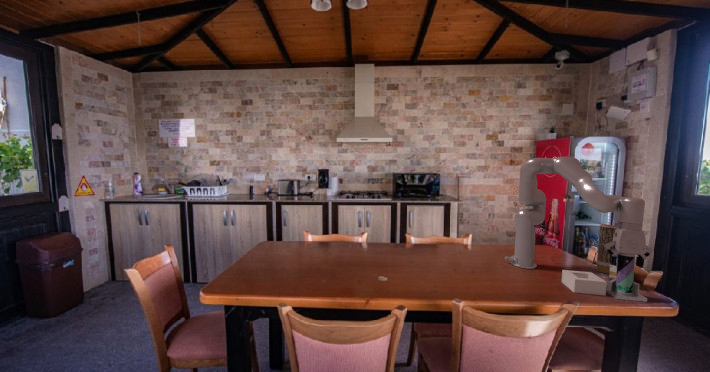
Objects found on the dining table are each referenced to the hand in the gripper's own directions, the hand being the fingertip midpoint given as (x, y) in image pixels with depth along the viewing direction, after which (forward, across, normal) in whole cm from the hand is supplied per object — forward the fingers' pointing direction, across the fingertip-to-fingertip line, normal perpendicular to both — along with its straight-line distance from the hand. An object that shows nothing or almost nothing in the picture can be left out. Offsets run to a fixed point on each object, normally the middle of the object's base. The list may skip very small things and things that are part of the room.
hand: (625, 265), depth 128 cm
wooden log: (+14, +9, +32) cm, 36 cm away
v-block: (+13, 0, 0) cm, 13 cm away
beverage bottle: (+13, +6, +14) cm, 20 cm away
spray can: (+12, 0, 0) cm, 12 cm away
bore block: (+13, -14, +4) cm, 19 cm away
